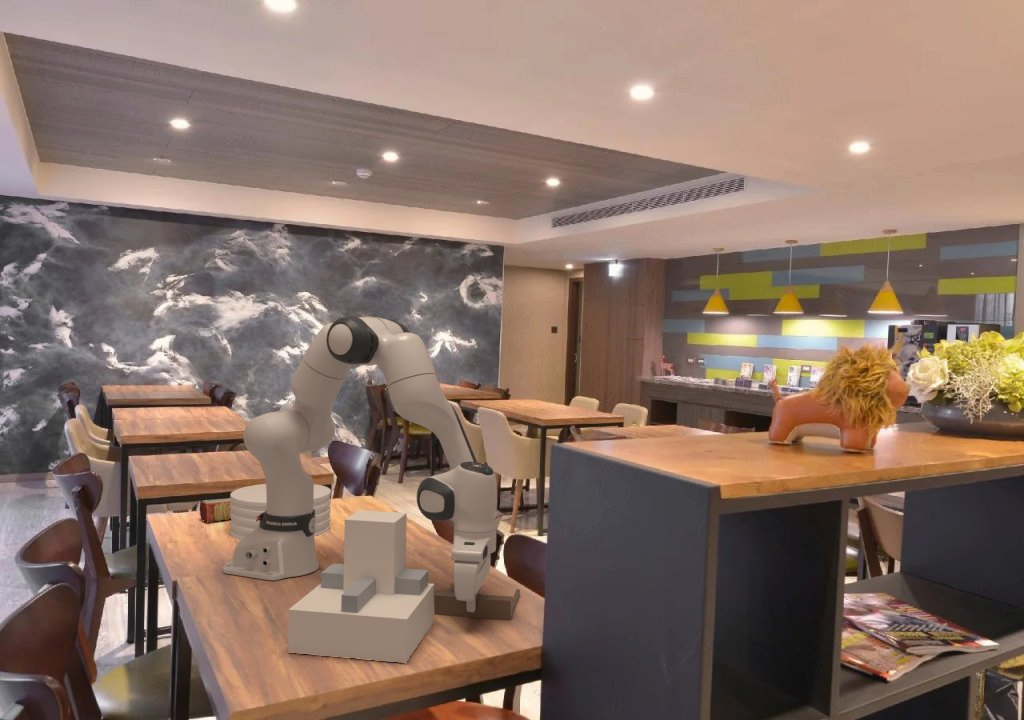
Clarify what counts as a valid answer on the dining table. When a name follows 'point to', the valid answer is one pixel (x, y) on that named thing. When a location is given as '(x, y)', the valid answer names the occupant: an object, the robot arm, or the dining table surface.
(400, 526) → the pillar on square base
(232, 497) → the plate stack
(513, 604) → the glasses frame
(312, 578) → the dining table surface
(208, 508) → the snack package
